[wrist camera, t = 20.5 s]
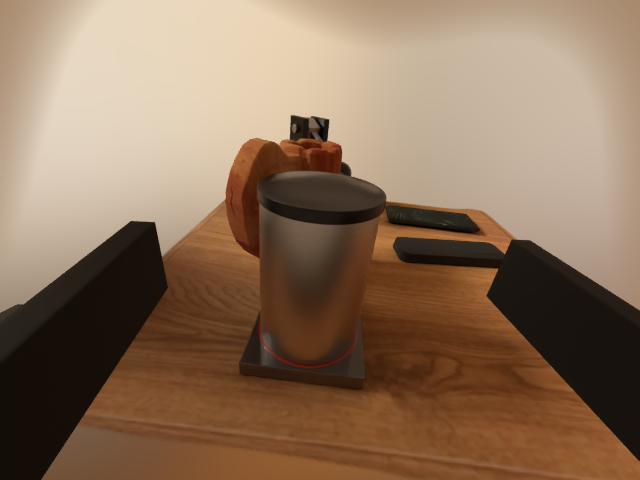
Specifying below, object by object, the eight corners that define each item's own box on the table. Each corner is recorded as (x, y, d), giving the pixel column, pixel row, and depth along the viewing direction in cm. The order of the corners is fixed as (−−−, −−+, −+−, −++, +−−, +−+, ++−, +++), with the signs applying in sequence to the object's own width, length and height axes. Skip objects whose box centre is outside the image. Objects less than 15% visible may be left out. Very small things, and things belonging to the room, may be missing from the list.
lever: (349, 189, 46) (359, 172, 43) (331, 191, 44) (340, 173, 41) (311, 132, 51) (317, 114, 49) (293, 132, 49) (299, 113, 47)
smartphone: (385, 204, 54) (466, 213, 53) (384, 209, 54) (465, 218, 53) (389, 218, 48) (481, 228, 46) (388, 224, 48) (479, 234, 47)
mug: (299, 241, 39) (306, 126, 33) (350, 262, 36) (371, 137, 29) (210, 290, 28) (192, 133, 21) (269, 329, 25) (272, 152, 18)
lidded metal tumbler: (245, 360, 20) (238, 202, 15) (270, 289, 28) (271, 166, 22) (361, 373, 20) (397, 219, 15) (354, 298, 27) (377, 177, 22)
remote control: (400, 265, 37) (509, 268, 38) (402, 253, 36) (514, 256, 37) (390, 247, 42) (489, 250, 42) (392, 236, 41) (493, 239, 41)
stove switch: (331, 203, 54) (341, 120, 47) (295, 209, 50) (300, 119, 43) (311, 192, 59) (318, 115, 52) (277, 196, 55) (279, 113, 48)
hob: (239, 374, 21) (238, 363, 20) (268, 296, 28) (268, 286, 28) (362, 390, 20) (365, 379, 20) (357, 307, 28) (359, 297, 28)
